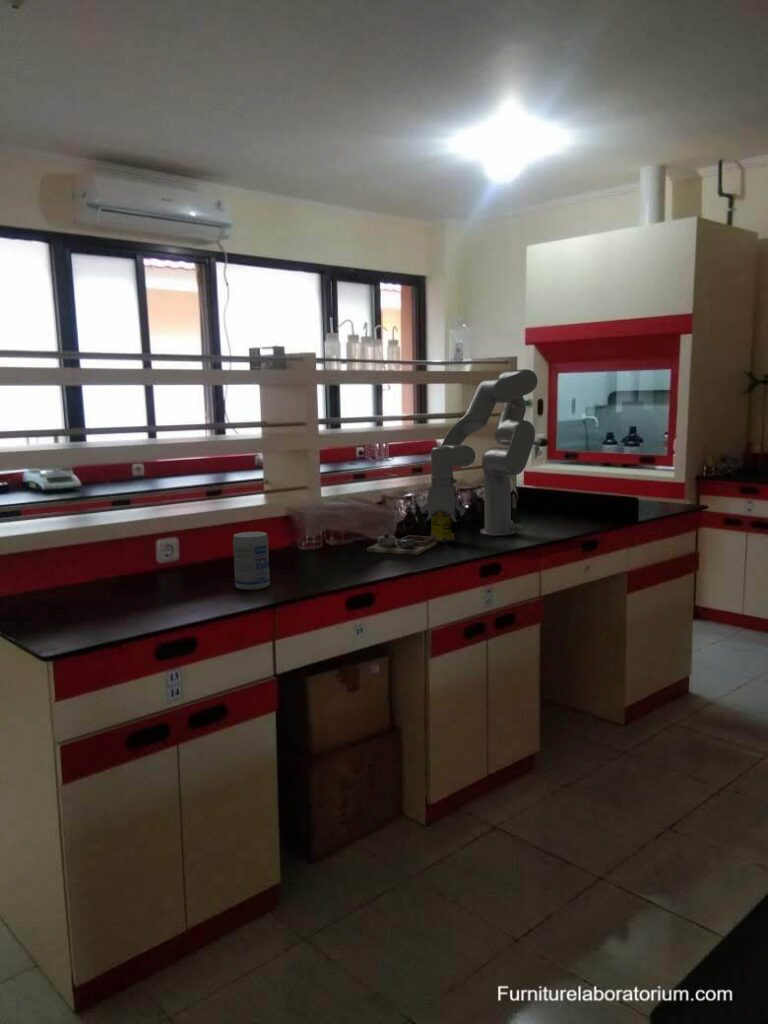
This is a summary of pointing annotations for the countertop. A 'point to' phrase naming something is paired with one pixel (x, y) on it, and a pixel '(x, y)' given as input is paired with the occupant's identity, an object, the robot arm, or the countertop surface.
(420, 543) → the carrier board
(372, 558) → the countertop surface
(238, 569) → the supplement tub
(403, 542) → the seated puck
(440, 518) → the supplement box
